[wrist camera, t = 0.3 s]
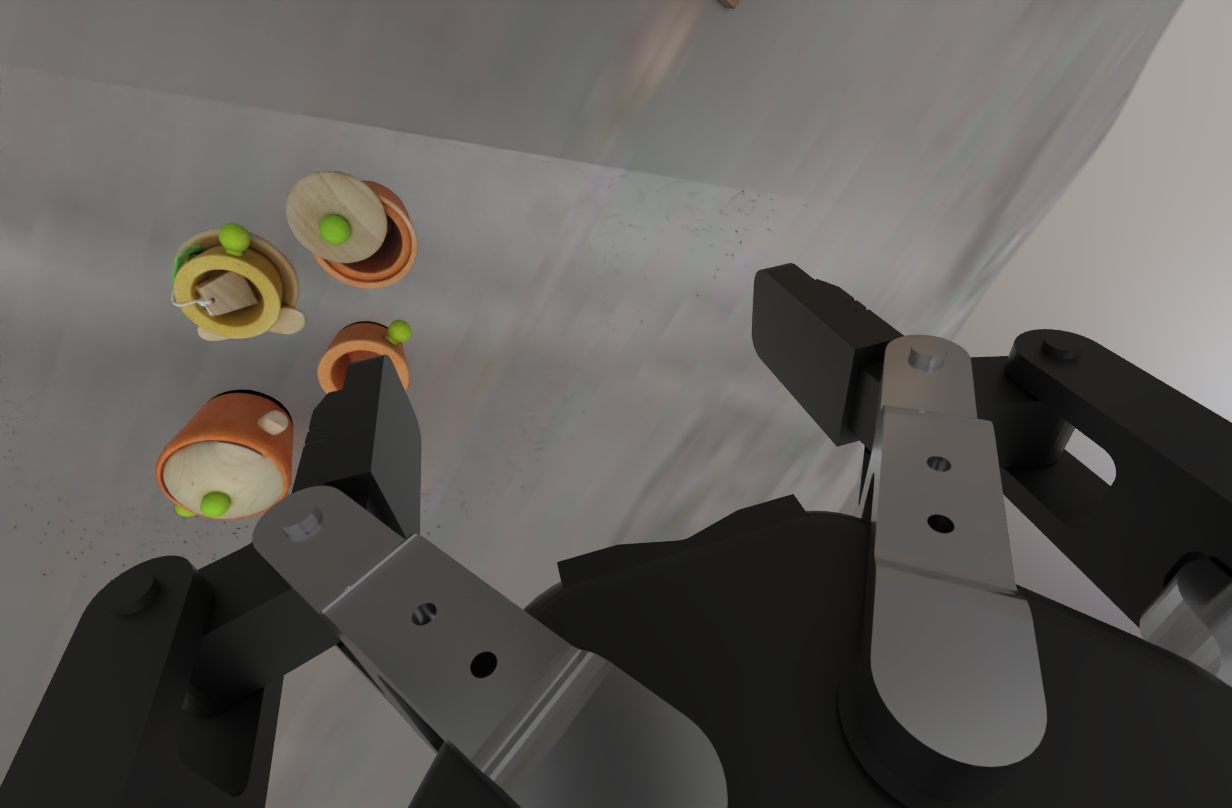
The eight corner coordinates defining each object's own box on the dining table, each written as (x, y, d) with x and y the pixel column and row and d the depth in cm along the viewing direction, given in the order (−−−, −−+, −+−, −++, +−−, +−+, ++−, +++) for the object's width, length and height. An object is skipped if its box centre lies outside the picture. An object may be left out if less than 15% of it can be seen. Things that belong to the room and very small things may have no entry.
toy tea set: (413, 480, 49) (410, 570, 42) (199, 476, 43) (151, 579, 36) (444, 171, 35) (448, 221, 28) (139, 107, 30) (41, 149, 22)
